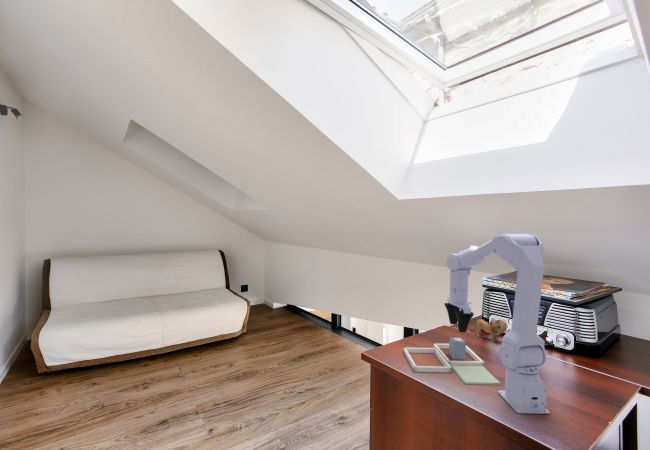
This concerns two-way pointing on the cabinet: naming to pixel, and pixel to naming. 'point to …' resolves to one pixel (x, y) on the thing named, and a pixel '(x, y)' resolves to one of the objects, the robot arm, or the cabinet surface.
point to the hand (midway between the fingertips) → (457, 327)
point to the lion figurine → (491, 328)
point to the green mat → (475, 375)
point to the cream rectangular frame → (460, 363)
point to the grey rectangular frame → (427, 368)
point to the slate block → (457, 348)
